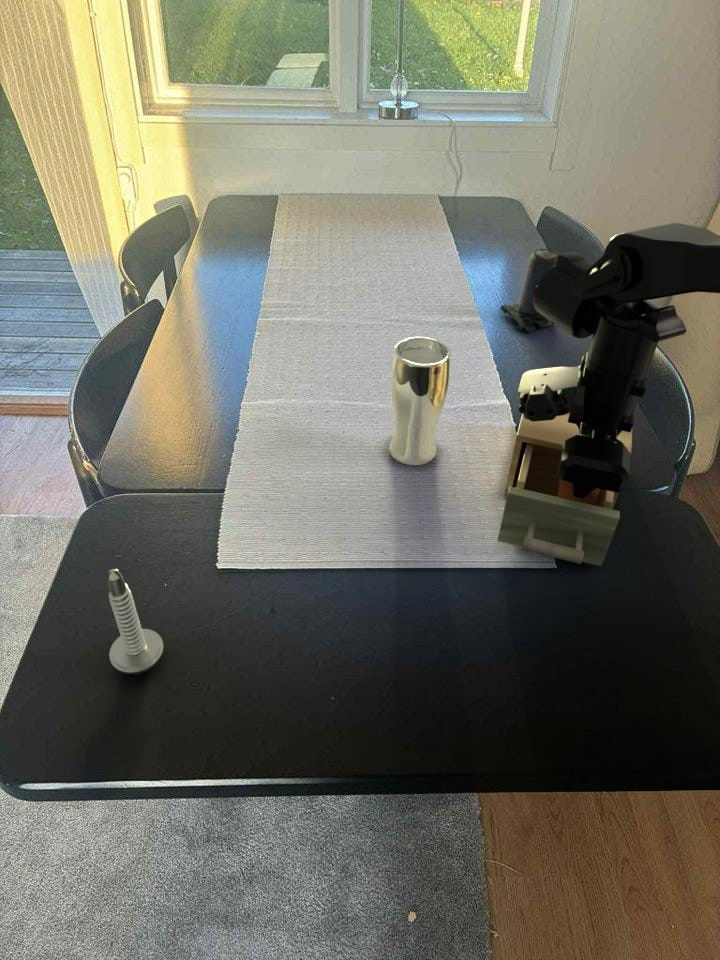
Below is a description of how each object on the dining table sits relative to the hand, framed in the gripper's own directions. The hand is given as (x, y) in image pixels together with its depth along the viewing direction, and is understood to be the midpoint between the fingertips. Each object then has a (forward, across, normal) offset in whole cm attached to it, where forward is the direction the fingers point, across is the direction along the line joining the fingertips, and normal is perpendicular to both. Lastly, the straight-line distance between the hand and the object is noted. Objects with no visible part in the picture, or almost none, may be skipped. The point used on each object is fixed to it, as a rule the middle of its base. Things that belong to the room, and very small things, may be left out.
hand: (579, 484), depth 77 cm
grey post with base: (+7, -50, -12) cm, 52 cm away
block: (+1, 0, 0) cm, 1 cm away
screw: (+7, +32, -36) cm, 49 cm away
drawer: (+6, +1, -2) cm, 6 cm away
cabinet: (+7, -11, -2) cm, 13 cm away
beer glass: (+7, -8, -20) cm, 23 cm away
